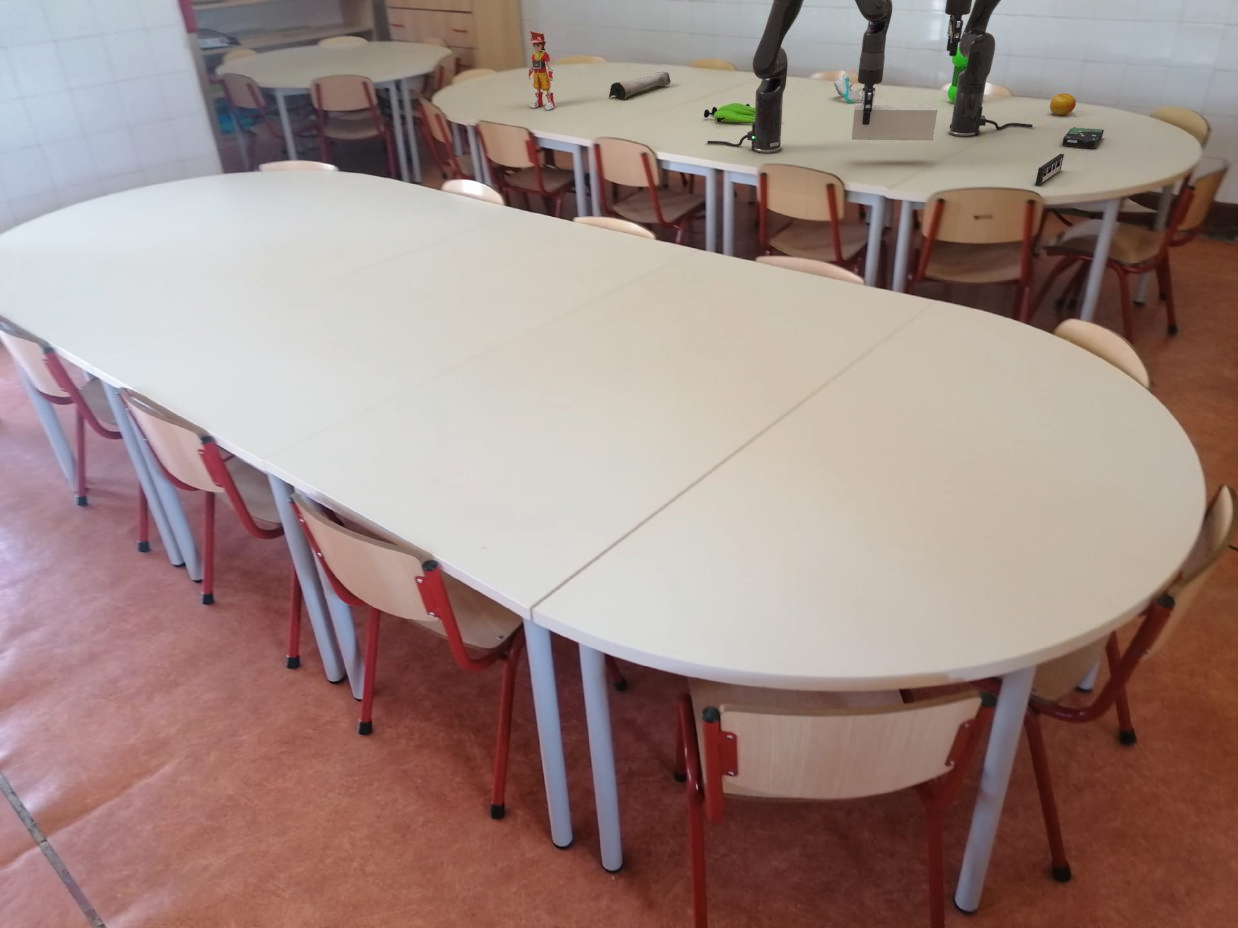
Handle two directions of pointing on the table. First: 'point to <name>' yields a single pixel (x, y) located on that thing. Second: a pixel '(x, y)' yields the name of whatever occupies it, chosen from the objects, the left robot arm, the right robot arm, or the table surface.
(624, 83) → the rolled mat
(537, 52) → the toy
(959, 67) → the green tall lumpy piece
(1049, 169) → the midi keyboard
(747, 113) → the toy
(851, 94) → the anatomical model
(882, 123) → the box
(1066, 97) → the fruit
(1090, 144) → the disk drive
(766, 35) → the left robot arm
